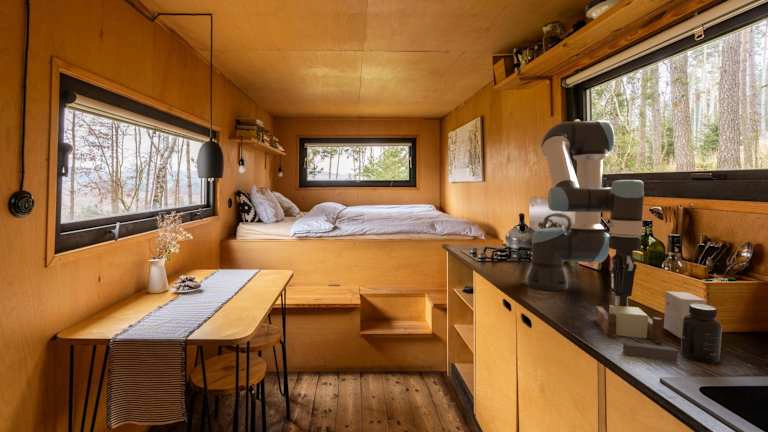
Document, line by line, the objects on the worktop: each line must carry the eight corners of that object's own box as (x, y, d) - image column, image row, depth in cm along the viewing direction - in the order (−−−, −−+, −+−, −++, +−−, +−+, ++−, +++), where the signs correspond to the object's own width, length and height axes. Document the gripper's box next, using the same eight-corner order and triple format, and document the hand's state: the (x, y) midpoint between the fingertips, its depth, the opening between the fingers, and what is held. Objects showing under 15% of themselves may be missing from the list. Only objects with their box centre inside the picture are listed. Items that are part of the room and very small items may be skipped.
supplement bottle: (672, 351, 87) (675, 301, 87) (699, 350, 88) (702, 301, 87) (699, 365, 81) (702, 311, 80) (728, 364, 81) (732, 310, 80)
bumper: (622, 352, 87) (623, 341, 87) (673, 358, 84) (673, 347, 84) (625, 355, 85) (626, 345, 85) (677, 362, 82) (677, 351, 82)
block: (608, 325, 104) (609, 305, 103) (637, 328, 102) (638, 307, 101) (615, 335, 97) (617, 312, 97) (646, 338, 95) (648, 315, 95)
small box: (704, 340, 94) (707, 300, 93) (680, 339, 95) (682, 299, 94) (686, 329, 102) (688, 292, 101) (663, 327, 103) (665, 290, 102)
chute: (595, 319, 109) (596, 299, 109) (640, 323, 105) (641, 303, 105) (608, 337, 96) (609, 314, 95) (660, 343, 92) (662, 319, 92)
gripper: (603, 232, 110) (599, 309, 112) (616, 237, 98) (612, 324, 99) (632, 233, 108) (628, 312, 110) (649, 238, 96) (644, 327, 97)
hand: (620, 317), depth 104 cm, fingers closed
